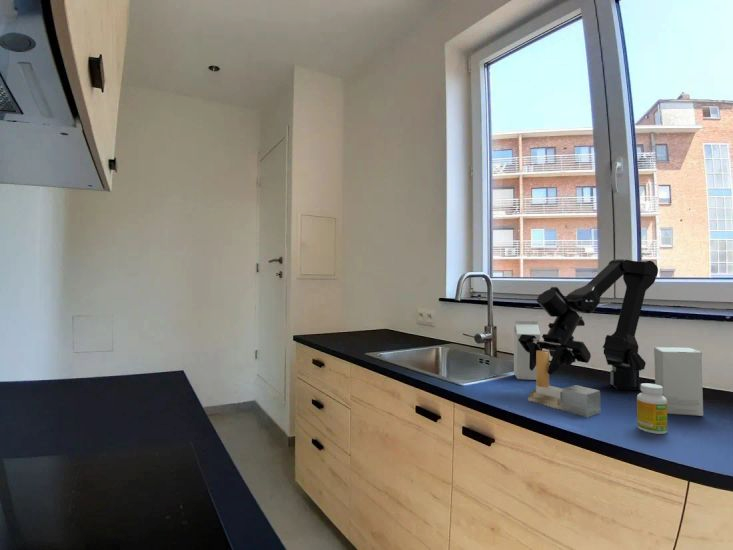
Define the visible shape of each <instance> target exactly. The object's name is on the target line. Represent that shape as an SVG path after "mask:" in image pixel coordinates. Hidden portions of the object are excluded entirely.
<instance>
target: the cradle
mask: <svg viewBox="0 0 733 550" xmlns="http://www.w3.org/2000/svg"><path fill="white" fill-rule="evenodd" d="M529 393H530V394H529V396H528V397H527V401H529V402H532V401H533V402H532V403H537V404H540V405H542V404H543V406H546V405H547V406H546V407H549V406H550V408H552V409H556V408H557V410H559V409H561V410H560V411H563V404H559V399H558V398H554V397H551V396H547V395H543V394H540V393H536V389H532V390H530V391H529Z"/></svg>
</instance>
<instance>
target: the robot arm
mask: <svg viewBox="0 0 733 550" xmlns="http://www.w3.org/2000/svg"><path fill="white" fill-rule="evenodd" d="M658 273H659V268H658V265H657V264H656V263H655V262H654V261H652V260H637V261H636V260H631V259H627V258H621V259H620V258H619V259H611V260H609V262H608V264H607V265H606V266H605V267H604V268H603V269H602V270H601V271H600V272H599V273H598V274H597V275H596V276H594V277H593V278H592V279H591V280H590V281H589V282H588V283H587V284H585V285H583V286H582V287H578V288H576V289H575V290H573V291H571V292H569V293H568V294H567V295H565V296H564V294H563V293H562V292H561V290H560V289H559V287H558V286H551V287H550V288H549V289H547V290H545V291H543V292H542V293H540V294H539V295H538V297H537V299H536V302H537V303H538V305H540V307H541V308H542V309H543V310H544V311H545V312H546V313H547V315H548V316H549V317H552V318H553V317H555V318H554V321H553V322H552V323H551V322H549V323H548V325H547V326H548V328H549V329H548V331H547V333H543V334H542V336H541V337H542V339H543V340H540V341H539V340H538V339H536V337H535V336H534V335H528V334H521V336H520V338H519V339H518V341H519V342H520V344H521V345H522V346H523V348H524V349H525V351H527V352H528V353H530V361H529V368H530V370H533V369H534V368H535V366H536V351H537V350H545V351H549V357H552V358H551V360H550V361H549V368H548V374H549V376H550V375H552V374H553V373H555V372H556V371H558V369H560V368H561V367H562V366H563V365H566V366H571V365H572V364H573V363H576V361H577V362H581V363H585V364H588V363H589V362H590V359H591V356H592V355H591V352H590V351H589V349H588V348H587V345H586V344H585V342H584V341H580V340H575V337H574V335H573V334H574V332H575V330H576V328H577V327H583V326H584V327H585V325H586V324H585V321H584V319H583V316H581V315H580V314H579V313H582V314H591V313H593V312H594V311H595V309H597V307H598V306H599V305H600V303H601V297H602V295H603V294H605V292H607V290H608V289H610V287H612V286H613V284H615V283H616V282H617V281H618V280H619V279H620V278H621V277H622V279H623V282H624V284H625V287H626V288H625V292H624V297H623V300H622V305H621V309H620V313H619V316H618V321H617V325H616V329H615V331H614V333H612V334H611V335H609V334H607V335H605V338H604V344H603V346H602V348H603V355H604V357H605V360H606V364H607V365H608V366H611V367H612V368H611V369H610V371H609V372H610V375H609V376H610V382H609V383H610V385H611V386H612V385H613V387H614V388H615V389H617V390H624V391H625V390H627V391H641V389H640V388H641V386H640V372H641V371H642V370H645V367H646V361H645V360H644V358H642V356H641V354H639V344H638V341H637V339H636V333H637V332H636V331H637V329H638V328H637V327H638V324H639V320H640V316H641V312H642V307H643V303H644V299H645V295H646V291H647V290H648V289H649V288H651V286H652V285H653V284H654V283H655V281H656V279H657V276H658Z"/></svg>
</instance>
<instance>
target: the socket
mask: <svg viewBox="0 0 733 550" xmlns="http://www.w3.org/2000/svg"><path fill="white" fill-rule="evenodd" d="M562 389H563V410H564V411H563V410H562V411H563V412H566V411H567V413H570V412H571V413H570V414H573V413H574V414H573V415H576V414H578V415H577V416H580V415H581V416H580V417H583V416H584V417H583V418H586V417H587V418H590V417H592V416H595V415H598V414H601V390H598V389H594V388H591V387H585V386H582V385H577V384H576V385H570V386H567V387H563V388H562ZM589 416H590V417H589Z"/></svg>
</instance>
